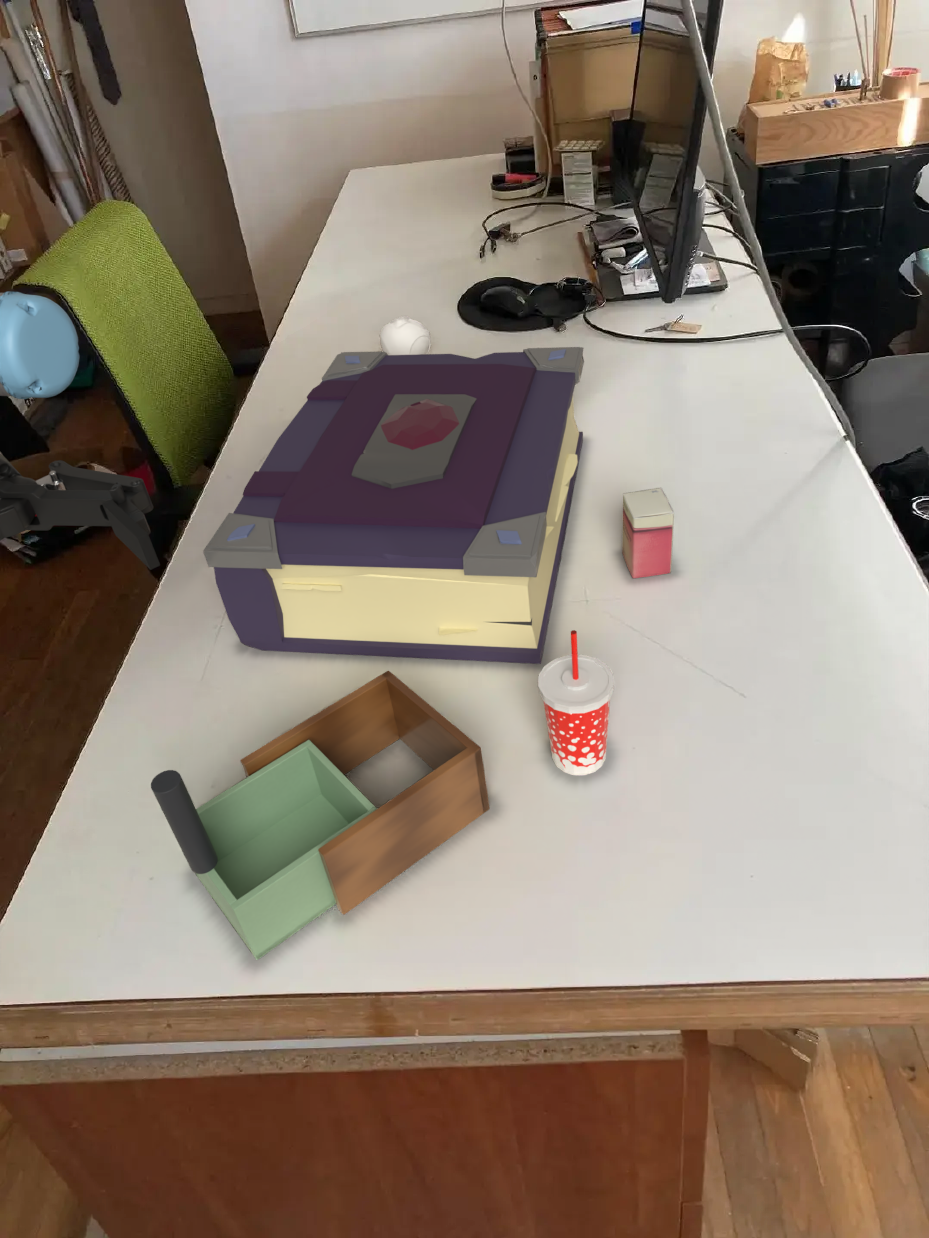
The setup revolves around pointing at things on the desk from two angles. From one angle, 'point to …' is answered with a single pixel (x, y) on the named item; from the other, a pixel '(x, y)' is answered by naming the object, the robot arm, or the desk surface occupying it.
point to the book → (410, 510)
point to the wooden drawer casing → (411, 816)
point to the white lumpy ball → (405, 337)
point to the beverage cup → (577, 709)
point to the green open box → (266, 841)
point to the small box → (647, 532)
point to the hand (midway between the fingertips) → (54, 596)
